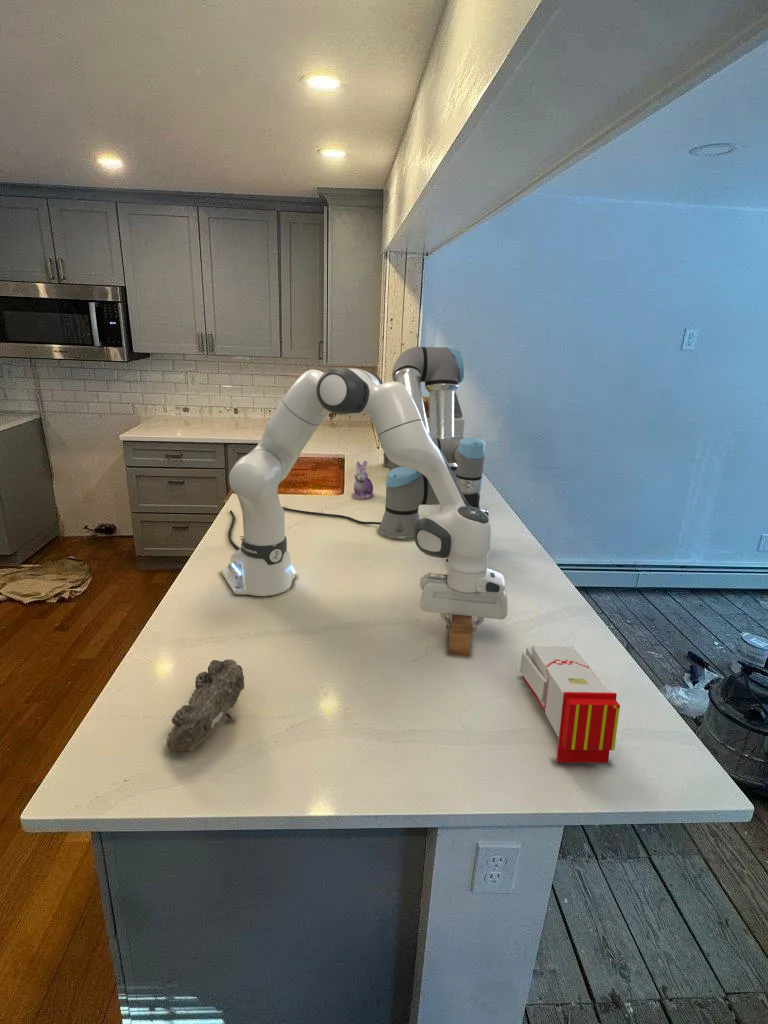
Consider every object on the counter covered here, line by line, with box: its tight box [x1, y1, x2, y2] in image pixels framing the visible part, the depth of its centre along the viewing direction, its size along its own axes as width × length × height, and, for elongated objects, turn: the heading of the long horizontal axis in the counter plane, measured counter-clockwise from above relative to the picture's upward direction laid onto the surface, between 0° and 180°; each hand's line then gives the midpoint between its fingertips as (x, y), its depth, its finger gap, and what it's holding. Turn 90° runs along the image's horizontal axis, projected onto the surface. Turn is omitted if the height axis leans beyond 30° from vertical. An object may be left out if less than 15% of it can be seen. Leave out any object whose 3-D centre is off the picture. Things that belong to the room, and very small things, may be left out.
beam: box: [448, 614, 473, 657], centre depth 154 cm, size 53×5×8 cm, turn 173°
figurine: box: [353, 460, 374, 500], centre depth 235 cm, size 9×10×15 cm
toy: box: [519, 645, 621, 764], centre depth 112 cm, size 12×13×30 cm
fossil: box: [166, 658, 245, 754], centre depth 106 cm, size 22×10×15 cm
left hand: (460, 629), depth 134 cm, fingers open, 5 cm apart
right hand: (460, 561), depth 175 cm, fingers open, 8 cm apart
